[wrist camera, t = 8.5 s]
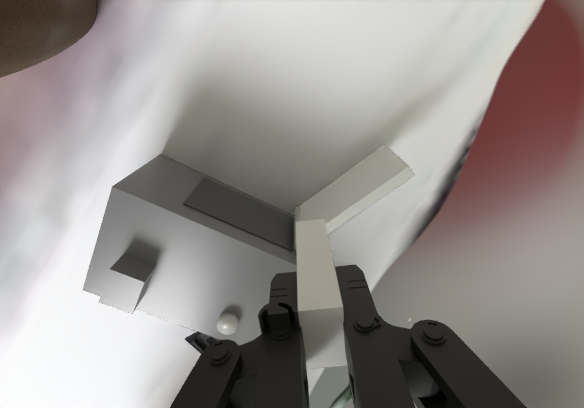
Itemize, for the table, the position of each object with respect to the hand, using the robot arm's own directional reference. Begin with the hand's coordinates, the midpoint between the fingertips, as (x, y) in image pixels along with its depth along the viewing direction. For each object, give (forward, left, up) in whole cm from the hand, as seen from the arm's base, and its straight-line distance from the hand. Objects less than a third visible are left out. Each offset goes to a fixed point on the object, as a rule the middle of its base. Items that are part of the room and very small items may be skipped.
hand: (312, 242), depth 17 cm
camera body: (-14, +5, -19) cm, 24 cm away
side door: (-1, -6, -19) cm, 20 cm away
